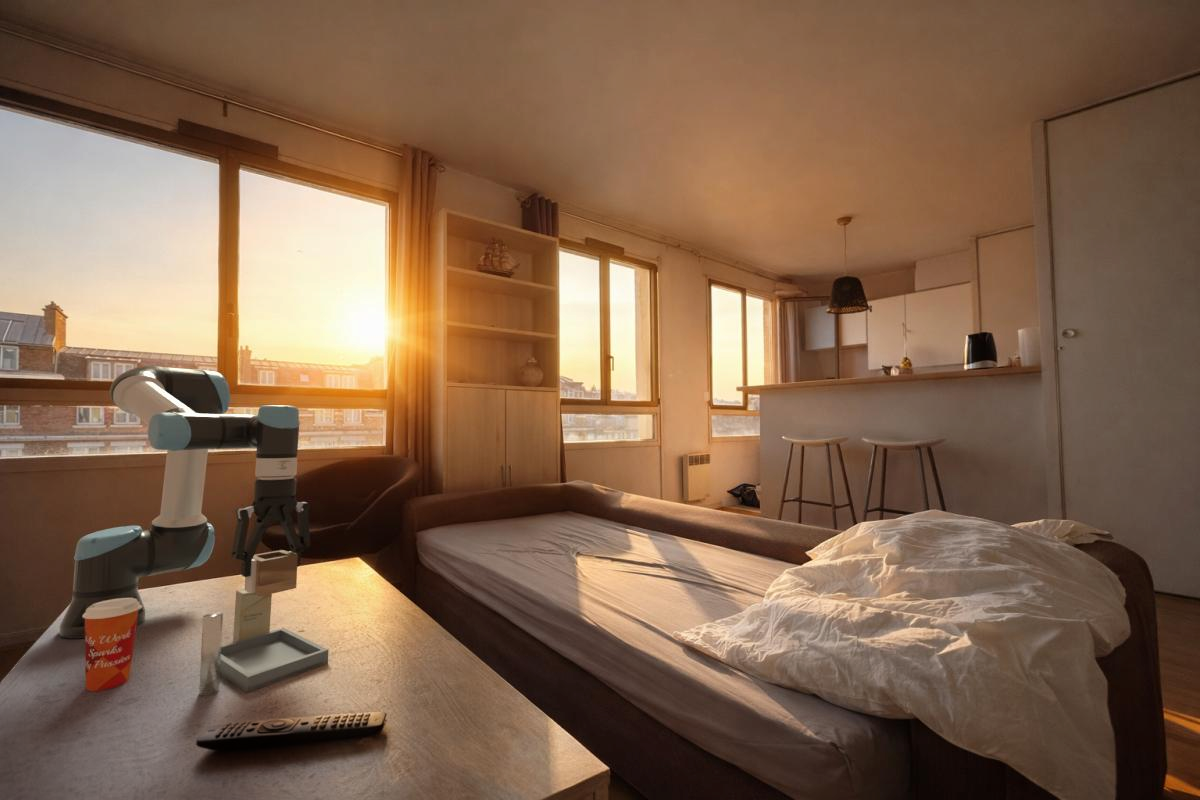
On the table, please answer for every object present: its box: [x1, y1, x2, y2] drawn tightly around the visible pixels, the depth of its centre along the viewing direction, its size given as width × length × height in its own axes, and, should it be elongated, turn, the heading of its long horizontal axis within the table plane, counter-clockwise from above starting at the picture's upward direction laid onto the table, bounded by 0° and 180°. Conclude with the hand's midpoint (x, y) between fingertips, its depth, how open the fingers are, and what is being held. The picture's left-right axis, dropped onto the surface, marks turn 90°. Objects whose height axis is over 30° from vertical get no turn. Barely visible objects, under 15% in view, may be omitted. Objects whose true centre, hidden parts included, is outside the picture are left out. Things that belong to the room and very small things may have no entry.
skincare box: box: [232, 588, 273, 642], centre depth 118 cm, size 6×4×12 cm
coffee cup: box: [82, 598, 142, 692], centre depth 99 cm, size 8×8×15 cm
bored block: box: [244, 549, 298, 597], centre depth 109 cm, size 7×7×7 cm
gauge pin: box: [198, 611, 224, 697], centre depth 97 cm, size 3×3×14 cm
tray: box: [220, 627, 329, 694], centre depth 108 cm, size 20×15×3 cm
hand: (270, 587), depth 109 cm, fingers closed on bored block, 7 cm apart
